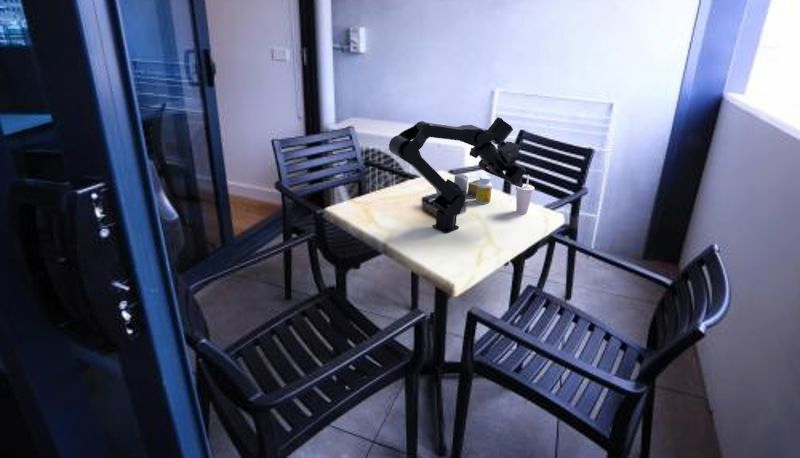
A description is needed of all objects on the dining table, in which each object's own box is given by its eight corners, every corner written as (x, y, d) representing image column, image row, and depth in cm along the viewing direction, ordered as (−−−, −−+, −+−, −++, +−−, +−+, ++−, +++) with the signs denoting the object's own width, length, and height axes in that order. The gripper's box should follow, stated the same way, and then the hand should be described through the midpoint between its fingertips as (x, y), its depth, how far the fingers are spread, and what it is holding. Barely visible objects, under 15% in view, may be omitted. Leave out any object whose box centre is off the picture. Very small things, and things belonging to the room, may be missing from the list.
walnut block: (477, 198, 181) (478, 186, 179) (467, 194, 184) (468, 182, 182) (487, 195, 184) (488, 182, 182) (477, 191, 188) (478, 179, 186)
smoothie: (532, 216, 167) (538, 178, 160) (514, 215, 167) (519, 177, 161) (528, 208, 172) (534, 172, 166) (510, 208, 172) (515, 171, 166)
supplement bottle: (474, 203, 176) (476, 178, 172) (477, 198, 181) (479, 174, 177) (488, 205, 175) (491, 180, 171) (491, 200, 179) (494, 175, 175)
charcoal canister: (460, 200, 179) (461, 180, 175) (450, 196, 182) (451, 176, 179) (468, 197, 182) (470, 177, 178) (459, 193, 185) (460, 173, 182)
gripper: (525, 142, 145) (547, 172, 154) (488, 129, 160) (510, 156, 169) (501, 170, 145) (525, 198, 154) (467, 154, 160) (490, 180, 169)
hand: (513, 182), depth 162 cm, fingers open, 9 cm apart
